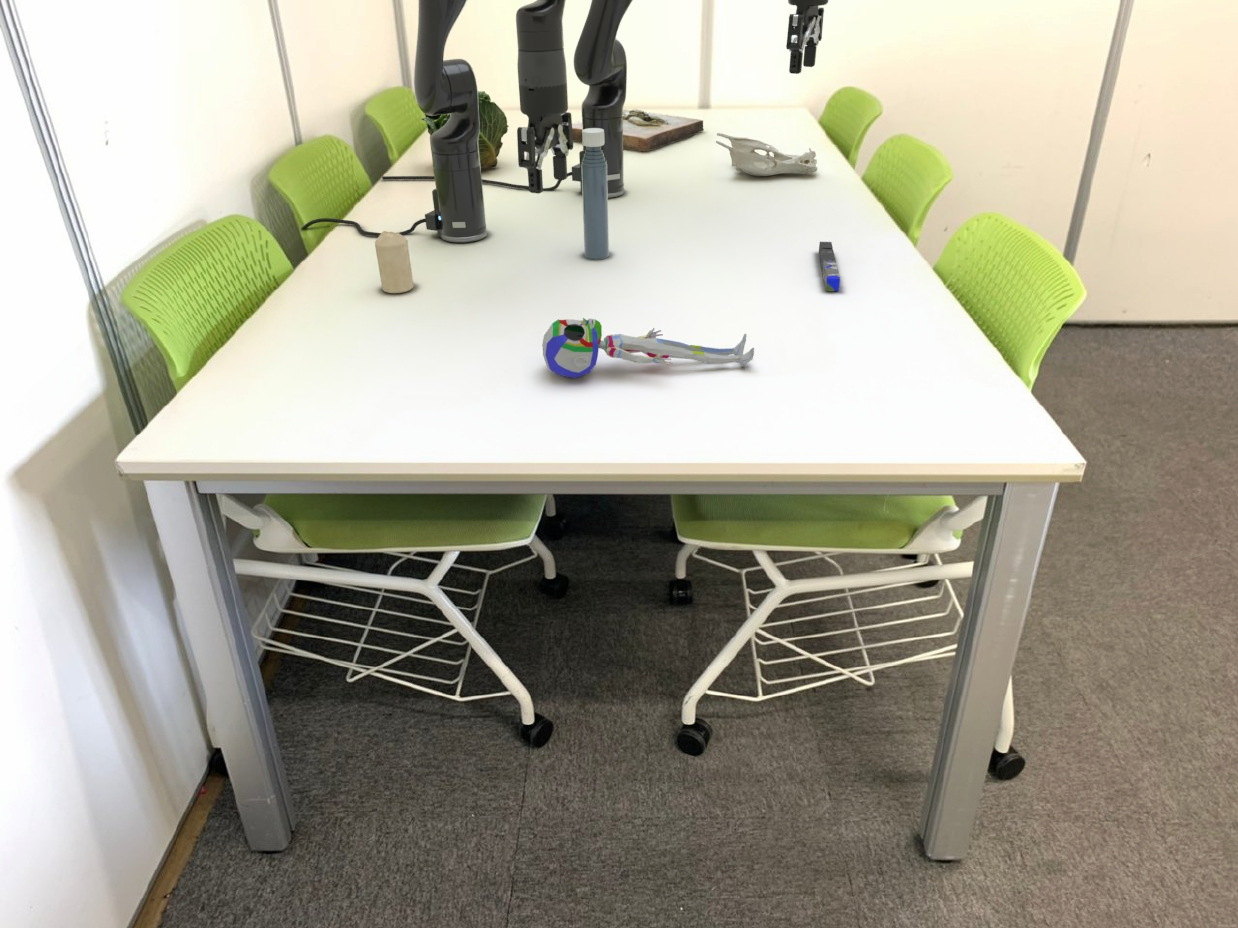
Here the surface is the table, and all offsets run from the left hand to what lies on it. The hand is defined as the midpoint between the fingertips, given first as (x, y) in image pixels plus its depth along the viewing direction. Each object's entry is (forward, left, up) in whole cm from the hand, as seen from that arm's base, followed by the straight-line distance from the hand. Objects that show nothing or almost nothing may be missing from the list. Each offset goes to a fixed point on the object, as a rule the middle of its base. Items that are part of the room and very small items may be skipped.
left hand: (548, 186), depth 148 cm
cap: (-1, +20, +4) cm, 20 cm away
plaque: (-37, +116, -18) cm, 123 cm away
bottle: (-1, +20, -18) cm, 27 cm away
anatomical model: (+11, +89, -18) cm, 92 cm away
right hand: (+26, +57, +11) cm, 63 cm away
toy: (+27, -22, -18) cm, 39 cm away
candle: (-26, -10, -18) cm, 34 cm away
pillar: (+42, +28, -18) cm, 53 cm away
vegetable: (-61, +66, -18) cm, 91 cm away
